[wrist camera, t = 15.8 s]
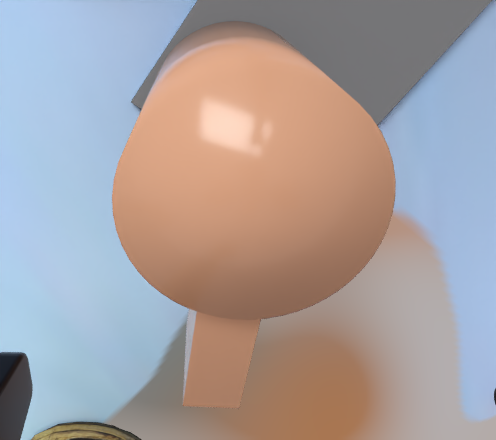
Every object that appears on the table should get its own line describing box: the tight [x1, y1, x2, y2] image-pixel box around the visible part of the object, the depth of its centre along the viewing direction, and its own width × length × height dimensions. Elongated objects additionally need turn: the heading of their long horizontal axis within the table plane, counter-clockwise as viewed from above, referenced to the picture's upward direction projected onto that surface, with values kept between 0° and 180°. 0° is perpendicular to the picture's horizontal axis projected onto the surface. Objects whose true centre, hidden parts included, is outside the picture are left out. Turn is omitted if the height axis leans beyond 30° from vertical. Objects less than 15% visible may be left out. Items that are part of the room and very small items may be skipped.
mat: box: [131, 0, 492, 125], centre depth 17 cm, size 13×9×1 cm
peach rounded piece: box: [112, 21, 395, 408], centre depth 16 cm, size 12×7×9 cm, turn 170°
